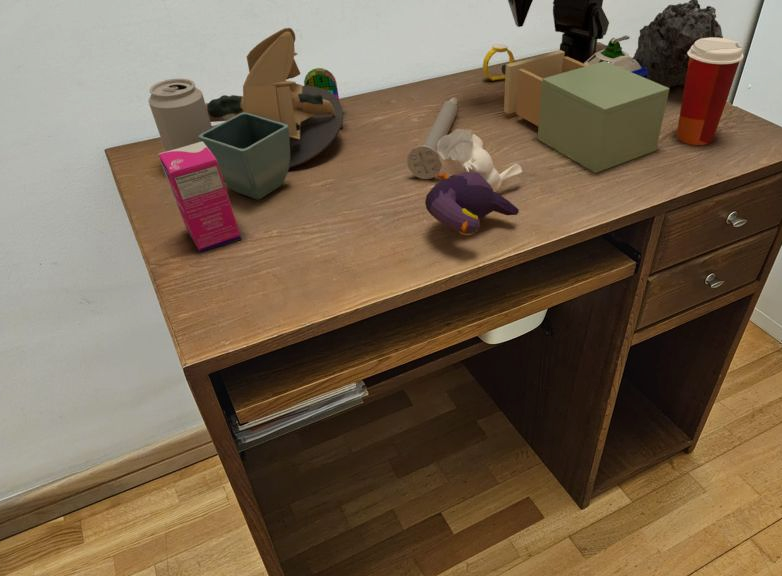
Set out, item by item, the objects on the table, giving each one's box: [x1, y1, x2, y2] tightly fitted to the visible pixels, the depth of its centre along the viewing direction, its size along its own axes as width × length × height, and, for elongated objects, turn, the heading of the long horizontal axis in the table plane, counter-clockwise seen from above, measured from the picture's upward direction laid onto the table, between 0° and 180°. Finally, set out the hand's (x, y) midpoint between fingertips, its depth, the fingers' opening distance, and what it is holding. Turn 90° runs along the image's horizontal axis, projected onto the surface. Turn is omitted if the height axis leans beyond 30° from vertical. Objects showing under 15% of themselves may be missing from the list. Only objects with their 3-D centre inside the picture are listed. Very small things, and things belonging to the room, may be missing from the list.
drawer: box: [501, 49, 588, 128], centre depth 106 cm, size 18×11×8 cm, turn 33°
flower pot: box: [198, 112, 290, 200], centre depth 90 cm, size 9×9×9 cm
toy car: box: [584, 35, 649, 79], centre depth 111 cm, size 9×12×10 cm
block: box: [303, 67, 344, 129], centre depth 106 cm, size 12×8×7 cm
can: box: [147, 77, 213, 152], centre depth 95 cm, size 8×8×12 cm
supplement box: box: [157, 141, 242, 253], centre depth 80 cm, size 6×6×12 cm
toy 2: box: [424, 172, 520, 236], centre depth 82 cm, size 11×12×7 cm
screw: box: [406, 97, 459, 180], centre depth 102 cm, size 5×26×5 cm
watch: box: [482, 43, 515, 82], centre depth 120 cm, size 6×3×6 cm, turn 116°
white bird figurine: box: [437, 128, 523, 193], centre depth 89 cm, size 12×8×10 cm
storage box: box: [537, 61, 670, 174], centre depth 98 cm, size 14×13×10 cm
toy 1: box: [205, 27, 344, 169], centre depth 95 cm, size 18×20×15 cm
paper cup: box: [676, 37, 744, 146], centre depth 98 cm, size 8×8×14 cm
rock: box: [632, 0, 724, 88], centre depth 112 cm, size 16×14×15 cm
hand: (519, 26), depth 107 cm, fingers closed
